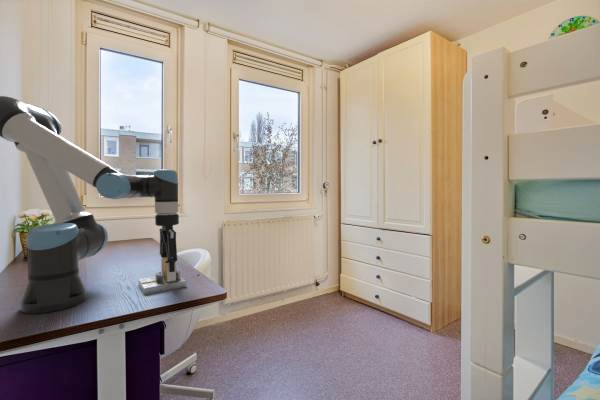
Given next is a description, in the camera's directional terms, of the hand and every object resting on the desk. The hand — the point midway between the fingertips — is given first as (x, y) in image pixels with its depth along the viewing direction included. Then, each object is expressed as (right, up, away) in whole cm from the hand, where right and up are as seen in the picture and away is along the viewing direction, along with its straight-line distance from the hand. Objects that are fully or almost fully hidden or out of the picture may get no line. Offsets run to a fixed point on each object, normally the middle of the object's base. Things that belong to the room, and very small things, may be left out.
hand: (168, 277), depth 104 cm
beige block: (0, 0, 0) cm, 1 cm away
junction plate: (-2, -3, -1) cm, 3 cm away
